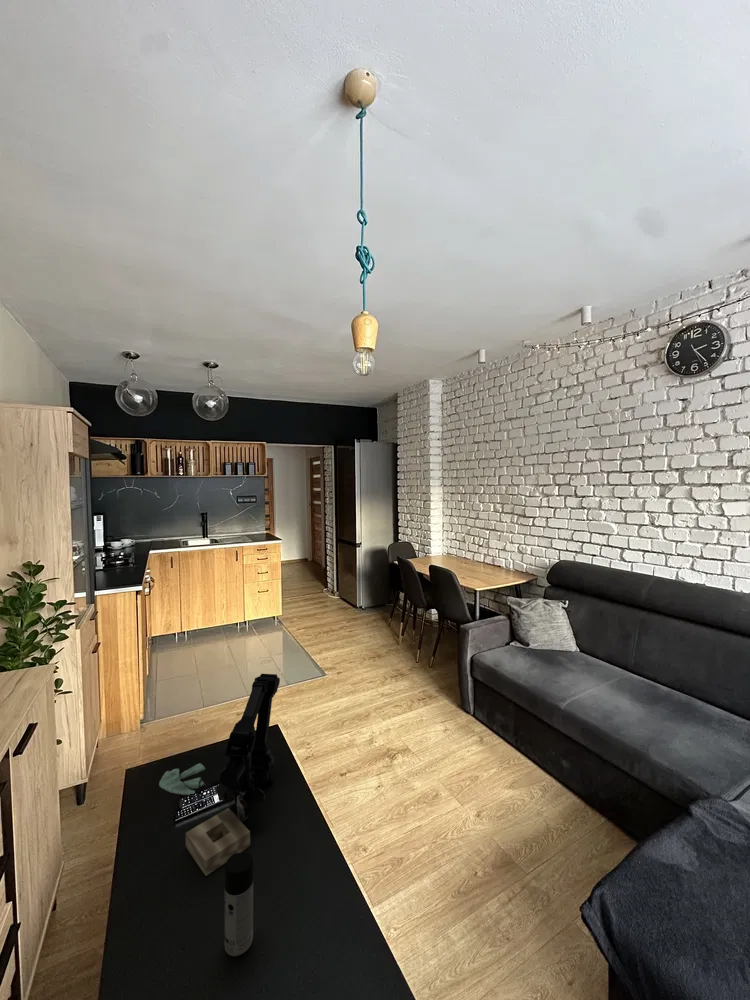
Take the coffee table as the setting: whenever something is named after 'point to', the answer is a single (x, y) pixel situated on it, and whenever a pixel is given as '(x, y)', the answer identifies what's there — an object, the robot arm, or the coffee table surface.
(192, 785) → the cloth
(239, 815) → the peg
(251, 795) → the robot arm
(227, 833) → the socket board
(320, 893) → the coffee table surface
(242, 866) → the spray can
